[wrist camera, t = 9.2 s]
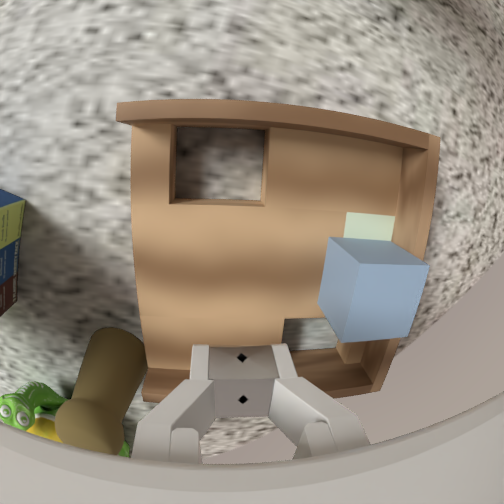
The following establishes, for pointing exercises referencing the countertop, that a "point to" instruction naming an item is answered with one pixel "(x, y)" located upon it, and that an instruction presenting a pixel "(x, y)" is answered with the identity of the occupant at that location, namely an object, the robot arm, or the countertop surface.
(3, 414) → the turtle holder
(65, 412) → the cork
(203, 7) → the countertop surface
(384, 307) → the slate block
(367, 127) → the tray
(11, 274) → the protein box
